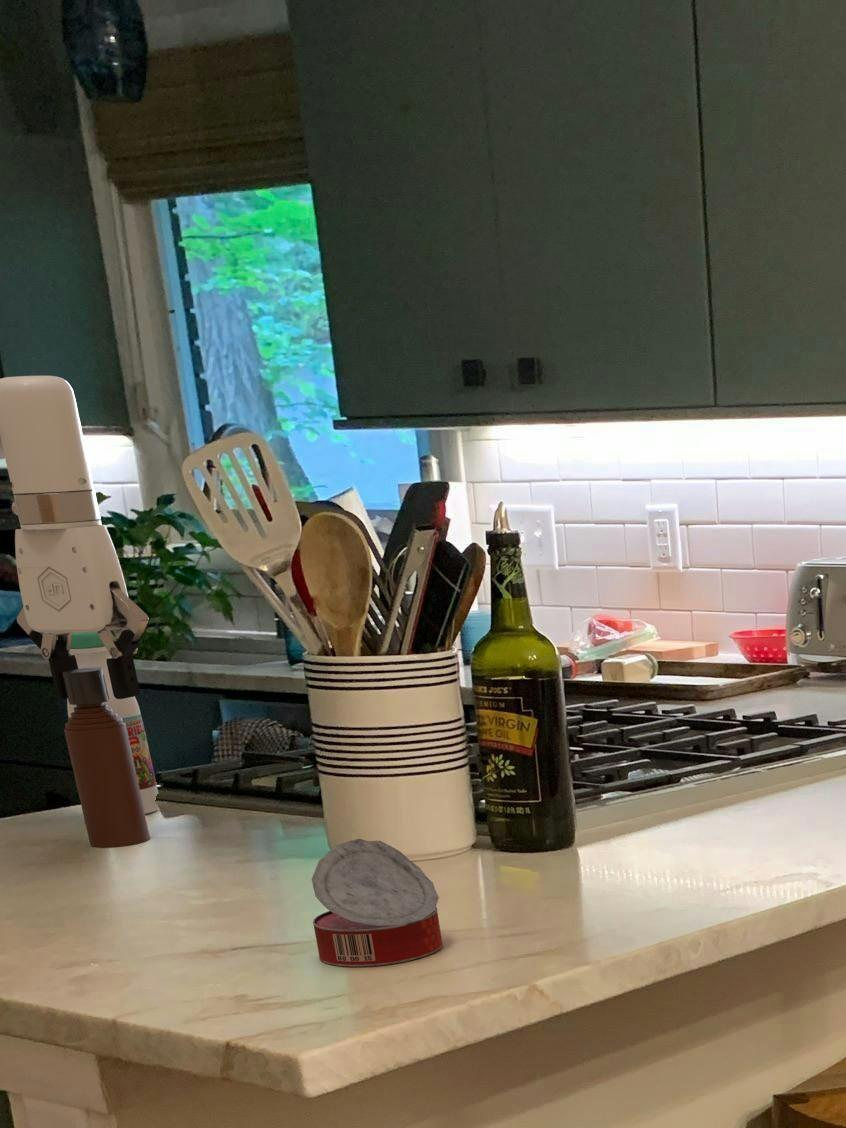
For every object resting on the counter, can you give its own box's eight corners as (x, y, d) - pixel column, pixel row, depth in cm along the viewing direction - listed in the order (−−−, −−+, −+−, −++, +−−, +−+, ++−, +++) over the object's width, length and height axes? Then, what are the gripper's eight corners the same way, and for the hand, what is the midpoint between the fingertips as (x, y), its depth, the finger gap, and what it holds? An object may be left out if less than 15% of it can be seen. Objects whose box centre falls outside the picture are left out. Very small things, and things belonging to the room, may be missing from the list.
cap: (108, 698, 203) (101, 666, 202) (110, 702, 200) (103, 670, 198) (68, 702, 201) (61, 670, 200) (69, 706, 198) (62, 673, 197)
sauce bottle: (79, 847, 204) (40, 681, 197) (108, 836, 210) (72, 673, 203) (132, 846, 203) (95, 679, 196) (160, 835, 209) (125, 672, 202)
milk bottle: (75, 819, 220) (33, 635, 211) (117, 806, 226) (78, 627, 218) (134, 819, 218) (94, 634, 210) (175, 806, 225) (137, 626, 216)
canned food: (434, 988, 164) (476, 880, 161) (407, 1009, 154) (451, 894, 152) (306, 932, 162) (347, 822, 160) (271, 950, 153) (313, 833, 150)
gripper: (-38, 516, 192) (6, 702, 200) (100, 512, 187) (141, 703, 194) (18, 512, 199) (59, 691, 206) (154, 507, 193) (191, 692, 200)
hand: (98, 695), depth 200 cm, fingers open, 6 cm apart
